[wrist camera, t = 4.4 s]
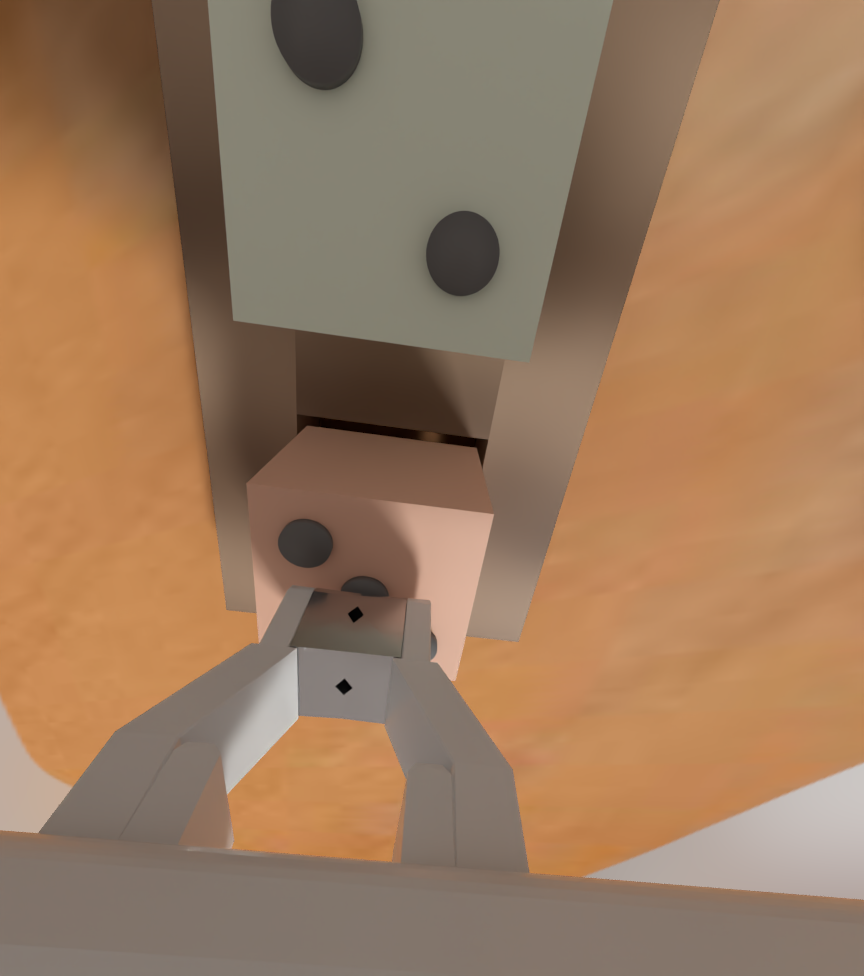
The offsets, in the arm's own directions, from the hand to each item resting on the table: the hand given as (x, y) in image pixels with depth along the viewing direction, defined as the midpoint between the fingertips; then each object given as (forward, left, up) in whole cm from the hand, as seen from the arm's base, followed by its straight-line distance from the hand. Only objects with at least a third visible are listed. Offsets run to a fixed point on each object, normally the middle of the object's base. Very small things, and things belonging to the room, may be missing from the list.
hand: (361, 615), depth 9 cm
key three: (0, 0, -5) cm, 5 cm away
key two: (-8, 0, -4) cm, 9 cm away
